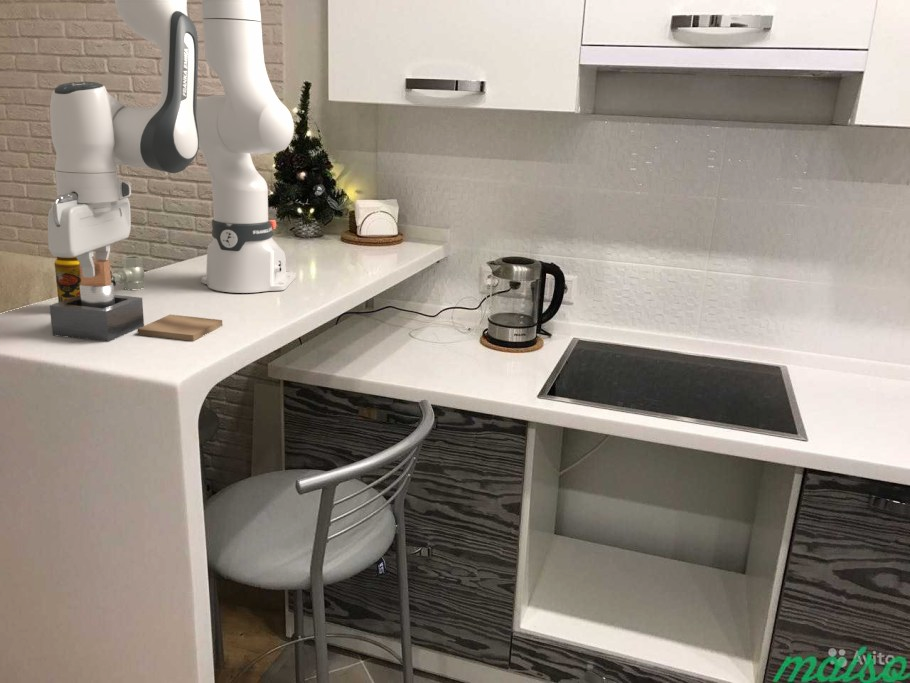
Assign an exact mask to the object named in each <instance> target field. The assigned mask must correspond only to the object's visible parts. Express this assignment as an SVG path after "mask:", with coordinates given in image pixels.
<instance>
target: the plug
mask: <svg viewBox="0 0 910 683" xmlns="http://www.w3.org/2000/svg"><path fill="white" fill-rule="evenodd" d="M92 259H93V262H94V265H95V266H97V272H98V274H97V276H95V277H93V278H85V277H83V274H82V267H81V265H80V275H81V284H80V294H81V304H82V306H85V307H94V308H106V307H109V306H111V305H114V304H115V301H114V295H115V291H114V286H113V283H112V282H111V273H110V271H111V265H110V264H111V262H110V259H108V260H101V259H95V258H92ZM79 264H80V263H79Z"/></svg>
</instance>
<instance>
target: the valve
mask: <svg viewBox="0 0 910 683" xmlns="http://www.w3.org/2000/svg"><path fill="white" fill-rule="evenodd" d="M121 261H122V263H121V264H122V266H123V267H121V268H117V269H116V270H115V272H114V273H112V270H110V273H111V282H112V283H113V287H115V286H116V285H117V282H118V283H119V284H121V285H122V284H123V289H125V288H126V289H140V290H142V289H141V288H144V289H145V282H144V280H143V279H144V277H145V271H144V267H143V263H144V262H143V258H142V256H139V255H125V256H123V257H121ZM126 289H125V290H126Z"/></svg>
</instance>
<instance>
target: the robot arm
mask: <svg viewBox="0 0 910 683" xmlns="http://www.w3.org/2000/svg"><path fill="white" fill-rule="evenodd" d="M187 4H188V0H114V5H115V8H116V9H115V10H116V12H117V13H118V15H119V17H120V19H121V21H123V23H124V24H125V25H126V27H127V28H129V29H130V30H131V31H132V32H134V33H135V34H137V35H138V36H139V37H141V38H143V39H144V40H146V41H148V42H150V43H151V44H153V45H155V46H156V47H158V49H159V50H160V53H161V54H160V55H161V61H162V62H161V80H160V99H159V102H158V104H156V105H155V106H153V107H140V106H139V107H138V106H137V107H135V106H131V105H130V106H129V105H126V104H125V103H123V102H121V101H119V100H118V99H116V98H115V97H114V96H112V95H111V94H110V93H109V92H108V91H107V88H106V86H105V85H104V84H102V83H99V82H97V81H96V82H95V81H80V82H79V81H77V82H75V81H73V82H66V83H63V84H59V85H58V86H56V87H55V88H54V89H53V91H52V93H51V98H50V104H49V117H50V118H49V120H50V123H49V125H50V132H51V133H50V134H51V141H52V144H53V147H54V149H55V155H56V157H55V160H56V161H55V164H54V173H55V183H56V193H57V194H56V195H57V196H55V200H54V201H53V203H52V205H51V207H50V209H49V211H48V215H47V244H48V245H47V246H48V250H49V252H50V254H51V255H52V256H53V257H56V258H57V257H76V258H77V259H78V261H79V263H80V265H81V267H82V274H83V277H85V278H93V277H95V276H97V274H98V272H97V266H95V265H94V262H93V259H101V260H109V257H110V253H111V244H114V243H117V242H120V241H123V240H125V239H128V238H129V236H130V235H131V234H130V233H131V230H132V223H131V220H132V218H131V217H132V215H131V204H130V203H131V202H130V200H129V198H128V197H131V196H132V187H131V183H129V182H127V181H124V180H123V179H121V177H118V169H117V165H120V166H128V167H133V168H144V169H151V170H154V171H155V170H156V171H159V172H165V173H170V174H177V173H180V172H182V171H184V170H185V169H186V168H188V166H190V165H191V164H192V162H193V161H194V160H195V158H196V157H197V154H198V153H199V151H200V152H201V154H202V156H203V159H204V161H205V165H206V167H207V171H208V174H209V177H210V183H211V192H212V194H211V195H212V207H213V208H212V210H213V211H212V212H213V219H211V226H210V228H211V229H210V230H211V237H212V238H213V239H212V241H211V242H210V243H209V244H208V246H207V250H206V252H207V253H206V273H205V274H206V276H203V277H201V283H202V284H204V285H207V287H208V288H209V289H211V290H213V291H217V292H226V293H234V294H235V293H236V294H237V293H238V294H239V293H241V294H245V293H246V294H248V293H250V294H252V293H260V292H261V293H262V292H270V291H271V292H272V291H273V292H274V291H275V292H276V291H285V290H286V288H288V287H289V285H290V284H292V282H293V281H294V280H295V279H296V278H297V272H296V271H291V270H288V269H287V258H286V253H285V250H283V249H282V248H281V247H280V245H279V244H278V243H277V242H276V241H275V239H274V238H273V236H274V234H273V230H275V229H276V228H277V221H276V219H269V200H268V199H269V196H268V195H269V192H268V191H269V190H268V188H269V186H268V184H267V181H266V179H265V178H264V177H263V176H262V175H261V174H260V173H259V172H258V171H257V169H256V167H255V164H254V163H253V159H252V156H251V154H252V155H268V154H269V155H270V154H275V153H279V152H282V151H284V150H286V149H287V148H288V147H289V145H290V144H291V142H292V140H293V137H294V132H295V124H294V118H293V116H292V114H291V112H290V110H289V109H288V107H287V106H286V105H285V104H284V103H283V102H282V101H281V99H279V97H278V96H277V94H276V92H275V89H274V87H273V85H272V83H271V80H270V78H269V75H268V72H267V68H266V67H267V66H266V64H265V56H264V44H263V43H264V42H263V41H264V40H263V30H262V14H261V5H260V4H261V2H260V0H201V19H202V20H201V21H202V31H203V32H202V34H203V42H204V43H203V44H204V45H203V46H204V58H205V62H206V64H207V66H208V67H209V68H210V69H211V70H212V71H213V72H214V73H215V74H216V76H217V78H218V79H219V81H220V83H221V85H222V87H223V88H222V89H223V91H224V95H221V94H212V95H209V96H208V95H207V96H203V97H201V98H198V75H199V71H198V70H199V40H198V39H199V38H198V33H197V32H198V31H197V28H196V25H195V23H194V21H193V20H192V19H191V18H190V17H189V16H188V8H187V7H188V6H187ZM94 252H95V255H94ZM93 257H94V258H93Z"/></svg>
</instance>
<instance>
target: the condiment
mask: <svg viewBox="0 0 910 683" xmlns="http://www.w3.org/2000/svg"><path fill="white" fill-rule="evenodd" d="M54 268H55V269H54V271H55V281H56V290H57V291H56V292H57V298H58V300H57V303H58V302H61V301H64V300H67V299H70V298H73V297H76V296H79V295H81V294H80V284H81V275H80V264H79V261H78V259H77V258H76V257H56V259H55V260H54Z"/></svg>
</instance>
